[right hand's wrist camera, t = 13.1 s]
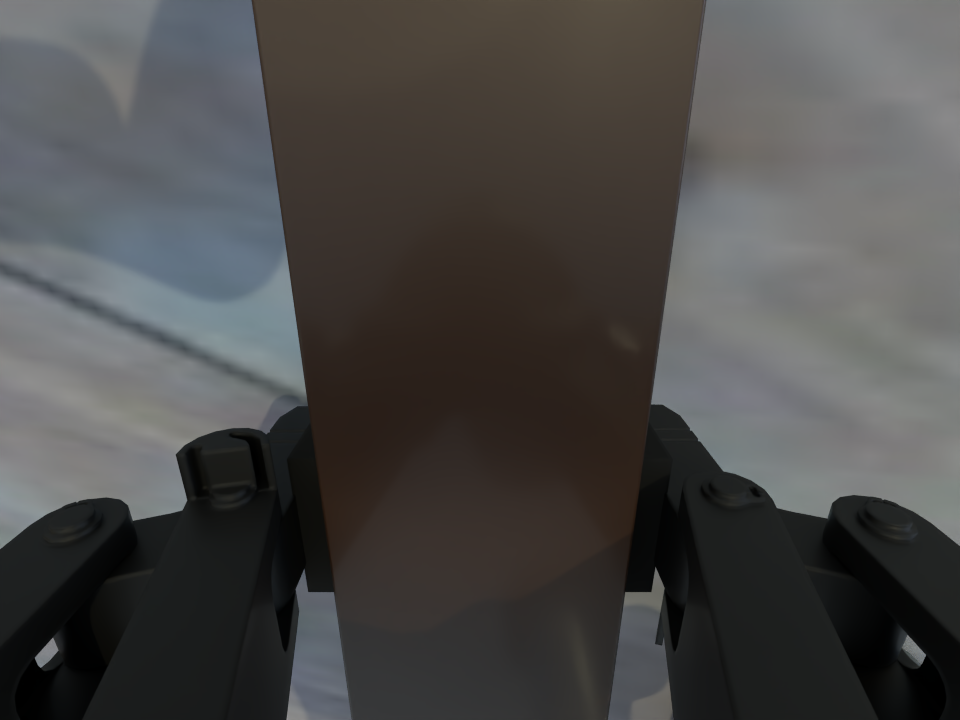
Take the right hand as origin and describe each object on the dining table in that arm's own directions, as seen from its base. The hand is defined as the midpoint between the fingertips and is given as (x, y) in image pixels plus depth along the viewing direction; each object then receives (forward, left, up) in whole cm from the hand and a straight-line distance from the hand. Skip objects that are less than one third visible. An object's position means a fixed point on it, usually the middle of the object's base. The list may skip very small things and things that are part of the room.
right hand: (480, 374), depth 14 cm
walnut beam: (+11, 0, 0) cm, 11 cm away
